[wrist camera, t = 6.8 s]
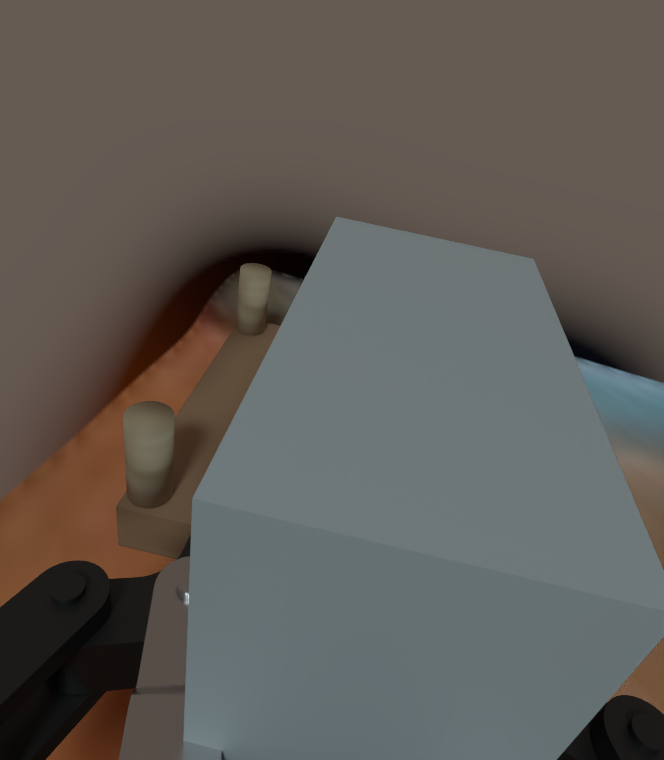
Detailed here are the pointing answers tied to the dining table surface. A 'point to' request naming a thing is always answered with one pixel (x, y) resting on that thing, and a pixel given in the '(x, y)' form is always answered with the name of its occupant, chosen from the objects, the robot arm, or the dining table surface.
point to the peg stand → (190, 430)
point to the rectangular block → (414, 524)
